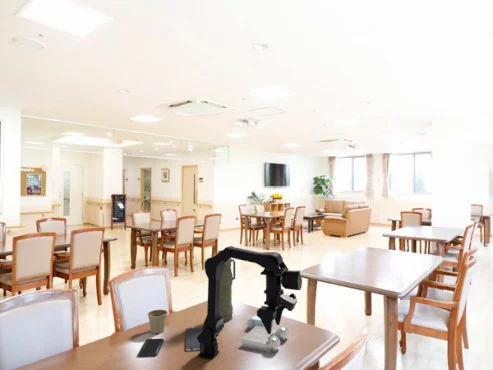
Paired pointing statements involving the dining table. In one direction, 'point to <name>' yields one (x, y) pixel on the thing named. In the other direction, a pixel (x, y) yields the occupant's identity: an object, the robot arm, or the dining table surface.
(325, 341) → the dining table surface
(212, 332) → the robot arm
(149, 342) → the phone
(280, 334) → the steel hinge leaf
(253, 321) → the blue-grey hinge leaf
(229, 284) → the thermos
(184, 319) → the dining table surface
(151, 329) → the flower pot
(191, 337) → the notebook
